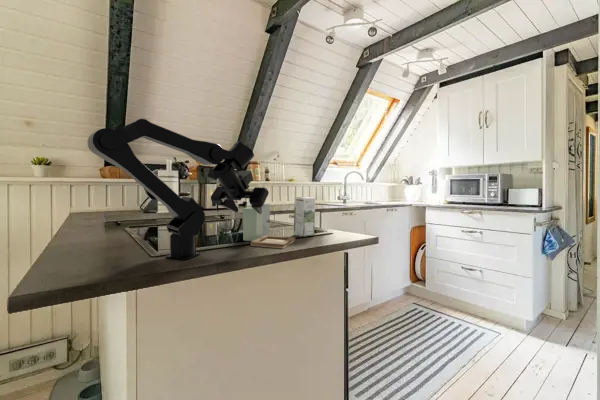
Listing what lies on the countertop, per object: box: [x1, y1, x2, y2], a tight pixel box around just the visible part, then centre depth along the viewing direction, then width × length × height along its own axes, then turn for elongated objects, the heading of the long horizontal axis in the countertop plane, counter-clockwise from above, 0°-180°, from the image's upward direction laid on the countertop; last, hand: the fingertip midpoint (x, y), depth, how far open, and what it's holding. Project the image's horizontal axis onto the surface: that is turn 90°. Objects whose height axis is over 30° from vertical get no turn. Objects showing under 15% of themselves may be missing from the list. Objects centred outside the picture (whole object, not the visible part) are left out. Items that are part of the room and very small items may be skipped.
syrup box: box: [293, 196, 316, 238], centre depth 112 cm, size 6×6×14 cm
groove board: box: [250, 235, 296, 249], centre depth 98 cm, size 12×11×1 cm
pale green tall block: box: [242, 206, 263, 242], centre depth 103 cm, size 5×5×11 cm
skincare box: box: [250, 202, 271, 236], centre depth 110 cm, size 6×4×12 cm
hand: (249, 212), depth 100 cm, fingers open, 9 cm apart
